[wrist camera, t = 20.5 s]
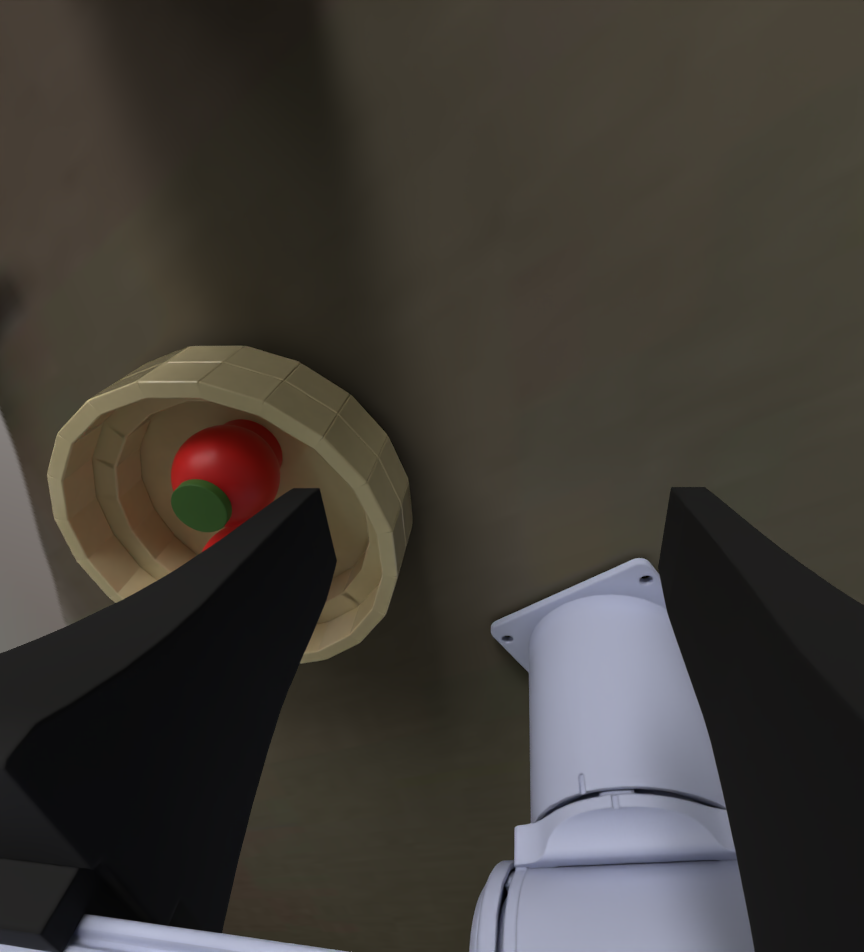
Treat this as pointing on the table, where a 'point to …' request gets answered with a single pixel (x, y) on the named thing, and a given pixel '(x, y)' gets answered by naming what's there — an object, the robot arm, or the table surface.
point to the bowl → (303, 466)
